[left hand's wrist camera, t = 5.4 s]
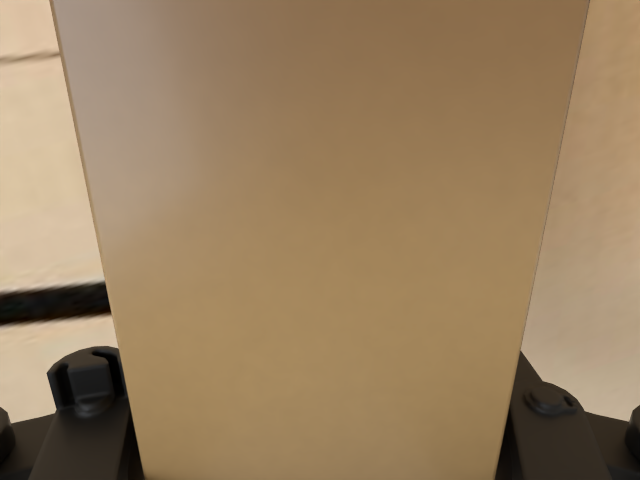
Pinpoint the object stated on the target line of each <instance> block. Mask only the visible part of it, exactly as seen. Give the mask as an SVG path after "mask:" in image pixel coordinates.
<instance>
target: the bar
mask: <svg viewBox="0 0 640 480" xmlns="http://www.w3.org/2000/svg"><path fill="white" fill-rule="evenodd" d="M49 1H50V6H51V11H52V16H53V21H54V26H55V31H56V36H57V41H58V46H59V51H60V56H61V61H62V66H63V71H64V76H65V81H66V86H67V91H68V96H69V101H70V106H71V111H72V116H73V121H74V126H75V131H76V136H77V141H78V146H79V151H80V156H81V161H82V166H83V171H84V176H85V181H86V186H87V191H88V196H89V201H90V207H91V212H92V217H93V222H94V227H95V232H96V237H97V242H98V247H99V252H100V257H101V262H102V267H103V272H104V277H105V282H106V287H107V292H108V297H109V302H110V307H111V312H112V317H113V322H114V327H115V332H116V337H117V342H118V347H119V352H120V357H121V362H122V367H123V372H124V377H125V382H126V387H127V392H128V397H129V402H130V407H131V412H132V417H133V422H134V427H135V433H136V438H137V443H138V448H139V453H140V458H141V463H142V468H143V473H144V478H145V480H495V475H496V470H497V465H498V460H499V455H500V450H501V445H502V440H503V435H504V430H505V425H506V420H507V415H508V410H509V405H510V400H511V395H512V390H513V385H514V379H515V374H516V369H517V364H518V359H519V354H520V349H521V344H522V339H523V334H524V329H525V324H526V319H527V314H528V309H529V304H530V299H531V294H532V289H533V284H534V279H535V274H536V269H537V264H538V259H539V254H540V249H541V244H542V239H543V234H544V229H545V224H546V219H547V214H548V209H549V204H550V199H551V194H552V188H553V183H554V178H555V173H556V168H557V163H558V158H559V153H560V148H561V143H562V138H563V133H564V128H565V123H566V118H567V113H568V108H569V103H570V98H571V93H572V88H573V83H574V78H575V73H576V68H577V63H578V58H579V53H580V48H581V43H582V38H583V33H584V28H585V23H586V18H587V13H588V8H589V2H590V0H49Z"/></svg>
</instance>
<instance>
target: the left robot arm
mask: <svg viewBox="0 0 640 480" xmlns="http://www.w3.org/2000/svg"><path fill="white" fill-rule="evenodd" d="M47 376H48V380H49V384H50V387H51V391H52V394H53V398H54V402H55V405H56V409H57V410H56V412H55V413H54V414H51V415H47V416H43V417H39V418H34V419H30V420H25V421H21V422H16V423H12V424H11V422H10V419H9V416H8V413H7V412H6V411H5V410H4V409H2V408H1V407H0V480H145V478H144V473H143V468H142V463H141V458H140V453H139V448H138V443H137V438H136V433H135V427H134V422H133V417H132V412H131V407H130V402H129V397H128V392H127V387H126V382H125V377H124V372H123V367H122V362H121V357H120V352H119V349H118V348H114V347H109V346H97V347H90V348H86V349H82V350H78V351H76V352H74V353H72V354H69V355H67V356H65V357H63V358H62V359H61V360H59V361H58V362H56V363H55V364H54V365H53V366H52V367H51V368H50V370H49V371H48V372H47ZM495 480H640V405H639V406H638V407H637V408H635V409H634V410H633V412H632V415H631V418H630V421H629V422H627V421H623V420H618V419H614V418H609V417H605V416H600V415H596V414H592V413H589V412H585V411H584V409H583V407H582V406H581V404H580V403H579V402H578V400H577V399H576V398H575V397H574V396H572V395H571V394H570V393H568V392H567V391H566V390H564V389H562V388H560V387H558V386H556V385H554V384H551V383H547V382H544V381H542V379H541V378H540V377H539V375H538V374H537V373H536V371H535V370H534V368H533V367H532V366H531V364H530V363H529V361H528V360H527V359H526V357H525V356H524V355H523V353H522V352H521V350H520V354H519V359H518V364H517V369H516V374H515V379H514V385H513V390H512V395H511V400H510V405H509V410H508V415H507V420H506V425H505V430H504V435H503V440H502V445H501V450H500V455H499V460H498V465H497V470H496V475H495Z"/></svg>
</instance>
